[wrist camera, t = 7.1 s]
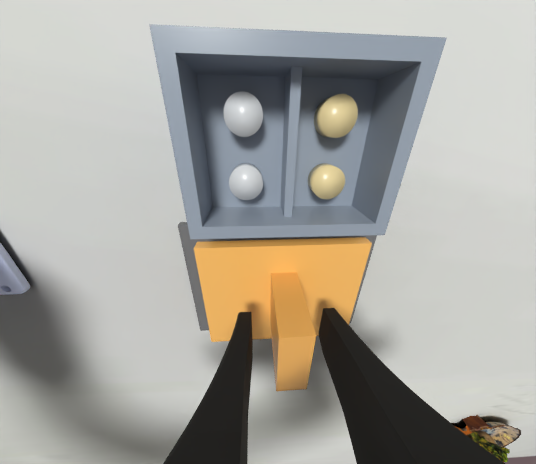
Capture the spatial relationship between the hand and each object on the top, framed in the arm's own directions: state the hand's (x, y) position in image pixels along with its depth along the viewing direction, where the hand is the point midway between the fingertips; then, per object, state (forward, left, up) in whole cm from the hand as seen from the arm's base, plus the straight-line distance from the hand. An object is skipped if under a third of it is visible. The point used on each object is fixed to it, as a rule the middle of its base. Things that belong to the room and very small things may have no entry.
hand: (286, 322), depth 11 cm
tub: (0, +8, -4) cm, 9 cm away
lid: (0, 0, -3) cm, 3 cm away
